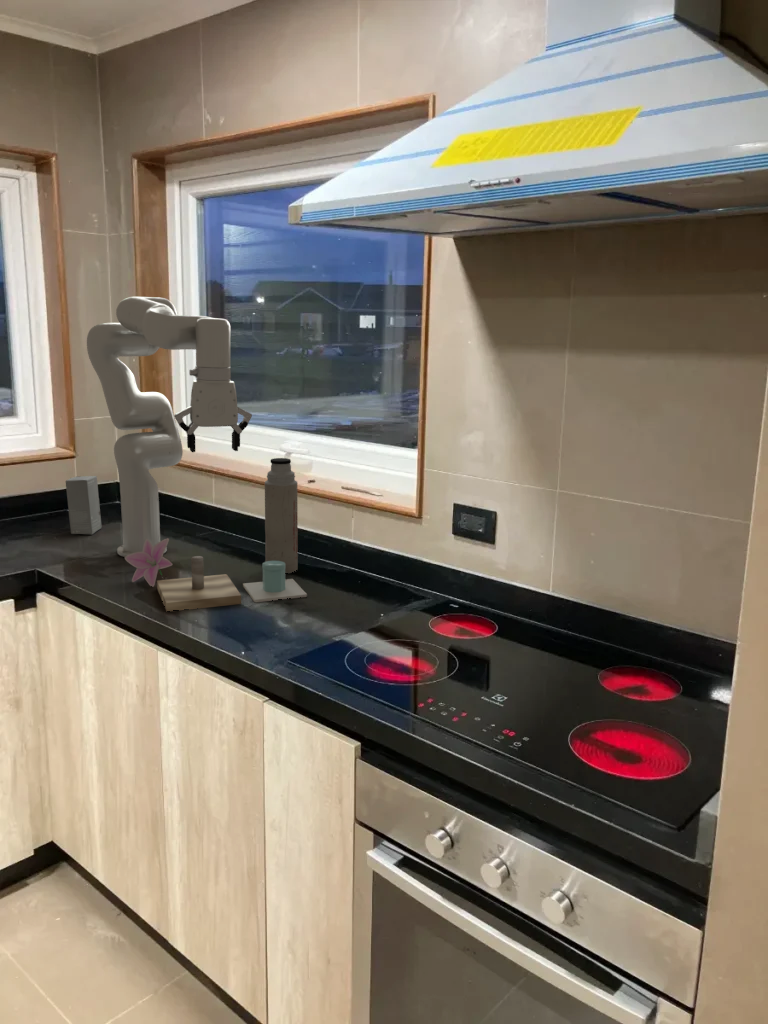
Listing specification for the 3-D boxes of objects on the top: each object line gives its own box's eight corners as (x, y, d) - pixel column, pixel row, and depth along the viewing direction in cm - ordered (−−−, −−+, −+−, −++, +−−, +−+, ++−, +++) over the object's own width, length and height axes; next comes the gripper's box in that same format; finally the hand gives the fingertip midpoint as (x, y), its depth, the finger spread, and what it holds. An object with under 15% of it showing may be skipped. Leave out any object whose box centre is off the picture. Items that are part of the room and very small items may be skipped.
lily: (124, 578, 200) (112, 550, 193) (166, 553, 205) (156, 526, 198) (148, 605, 193) (136, 577, 186) (191, 579, 198) (181, 550, 191)
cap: (265, 593, 186) (265, 568, 185) (260, 586, 191) (260, 561, 189) (288, 591, 188) (287, 566, 187) (282, 584, 193) (281, 559, 191)
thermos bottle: (301, 566, 209) (301, 457, 203) (292, 575, 202) (291, 462, 195) (271, 563, 211) (270, 455, 204) (261, 572, 203) (259, 460, 197)
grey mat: (242, 586, 193) (242, 583, 193) (292, 581, 197) (292, 578, 197) (254, 602, 182) (254, 599, 182) (306, 596, 186) (306, 594, 186)
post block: (157, 588, 189) (155, 551, 187) (226, 582, 195) (225, 545, 193) (166, 611, 175) (165, 571, 173) (241, 603, 181) (240, 564, 179)
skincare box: (92, 535, 234) (89, 480, 230) (67, 534, 234) (63, 479, 230) (103, 527, 242) (99, 474, 238) (78, 527, 242) (75, 474, 238)
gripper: (176, 376, 177) (178, 454, 181) (255, 376, 183) (255, 452, 188) (171, 373, 183) (172, 448, 188) (247, 373, 190) (247, 446, 194)
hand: (213, 450), depth 188 cm, fingers open, 9 cm apart
